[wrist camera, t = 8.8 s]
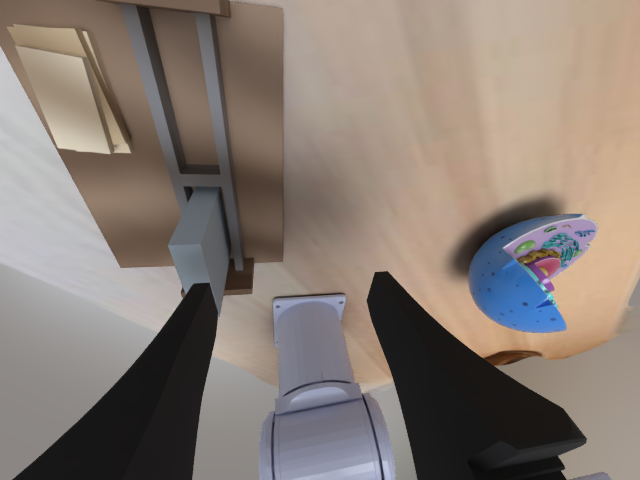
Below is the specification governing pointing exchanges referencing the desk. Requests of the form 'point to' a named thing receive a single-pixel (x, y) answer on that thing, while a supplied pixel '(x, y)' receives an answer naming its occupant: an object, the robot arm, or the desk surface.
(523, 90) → the desk surface
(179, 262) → the slate board
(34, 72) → the offcut stack
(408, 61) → the desk surface
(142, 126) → the board with sliding block
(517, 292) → the cell model
